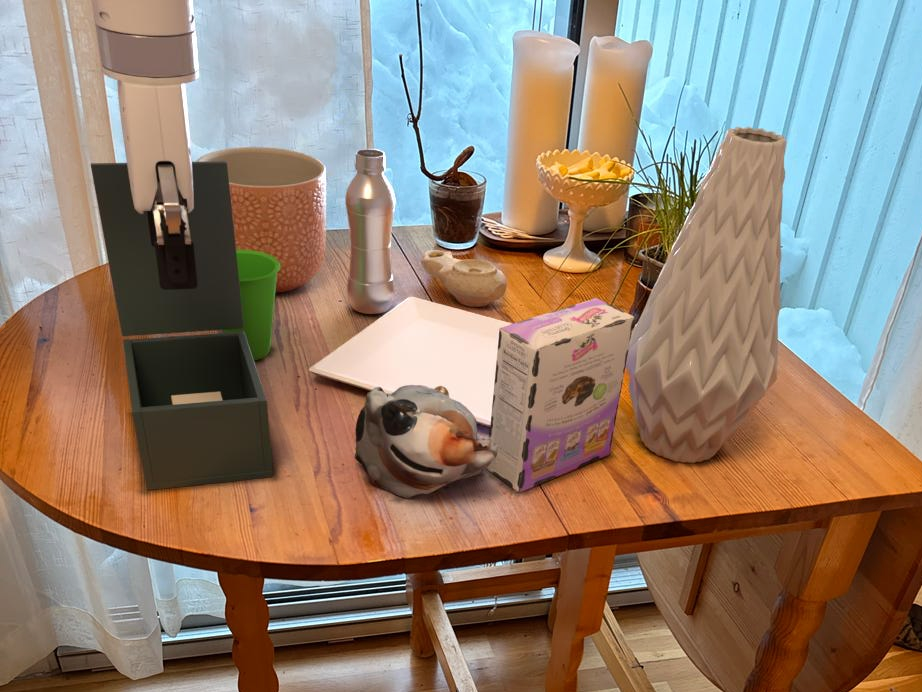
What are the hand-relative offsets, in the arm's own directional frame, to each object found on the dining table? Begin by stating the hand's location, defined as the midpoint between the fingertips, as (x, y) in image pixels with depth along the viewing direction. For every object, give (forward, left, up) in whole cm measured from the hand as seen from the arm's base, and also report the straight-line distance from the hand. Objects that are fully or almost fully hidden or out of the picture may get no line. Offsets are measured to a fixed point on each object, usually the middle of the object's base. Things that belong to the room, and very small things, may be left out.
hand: (173, 266), depth 88 cm
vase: (+53, -8, -20) cm, 58 cm away
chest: (0, +2, -20) cm, 20 cm away
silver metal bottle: (+26, +33, -20) cm, 47 cm away
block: (+1, 0, -19) cm, 19 cm away
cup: (+8, +23, -20) cm, 32 cm away
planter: (+14, +45, -20) cm, 51 cm away
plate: (+32, +14, -20) cm, 41 cm away
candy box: (+36, -9, -20) cm, 43 cm away
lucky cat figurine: (+22, -9, -20) cm, 32 cm away
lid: (0, +10, -2) cm, 10 cm away
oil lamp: (+40, +36, -20) cm, 58 cm away
